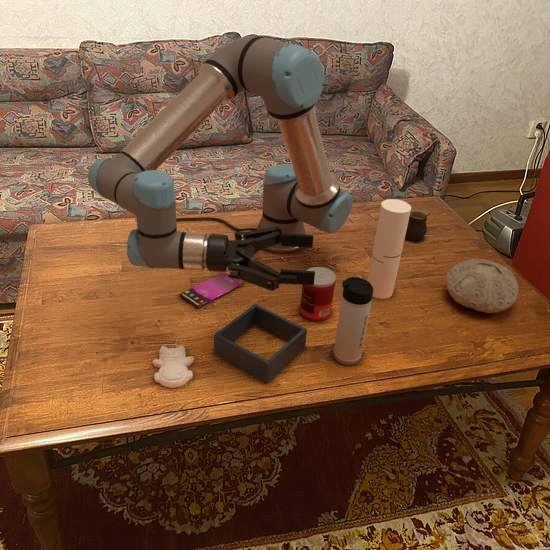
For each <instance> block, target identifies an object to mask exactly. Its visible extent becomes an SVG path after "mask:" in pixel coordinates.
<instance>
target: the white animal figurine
mask: <svg viewBox="0 0 550 550" xmlns="http://www.w3.org/2000/svg"><path fill="white" fill-rule="evenodd" d="M186 352H187V351H186V348H185V346H184V345H183V344H180V345H178V347H167V346H166V345H161V347H160V348H159V355H158V356H159V358H154V359H152V365H153V367H155V368H158V371H157V372H156V371H155V373H154V374H153V379H154V381H155V382H156V383H158V384H160V385H161V386H162V387H165V388H170V389H175V388H180V387H184V385H187V384H188V382H189V381H191V380H192V379H193V377H194V373H193V371H192V370H191V369H189V368H188V367H189V366H191V365H192V364H193V363H194V362H195V357H194V356H191V355H189V356H187V355H186Z"/></svg>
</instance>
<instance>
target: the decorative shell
mask: <svg viewBox="0 0 550 550" xmlns="http://www.w3.org/2000/svg"><path fill="white" fill-rule="evenodd" d="M445 287H446V289H447V291H448V293H449V295H450V296H451V298H452V299H453V300H454V301H455V302H456V303H457V304H460V305H462V306H463V307H466V308H470V309H473V310H475V311H476V312H483V313H485V314H493V313H500V312H502V311H506V310H508V309H510V308H511V307H512V306H513V305H514V304H515V302H516V301H517V298H518V295H519V287H520V286H519V285H518V281H517V277H516V276H515V275H514V274H513V272H512V271H511V270H510V269H509V268H508V267H507V266H503V265H502V264H500V263H497V262H495V261H493V260H488V259H484V258H478V257H475V258H472V259H466V260H463V261H459V262H458V263H457V264H455V265H452V267H451V269H450V270H449V271H448V272H447V274H446V278H445Z"/></svg>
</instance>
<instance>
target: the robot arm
mask: <svg viewBox="0 0 550 550" xmlns="http://www.w3.org/2000/svg"><path fill="white" fill-rule="evenodd" d="M198 70H199V73H198V75H197V76H195V78H193V79H192V81H191V82H189V83H188V84H187V86H185V88H183V90H181V91H180V92H179V93H178V94H177V95H176V96H175V97H174V98H173V99H172V100H171V101H170V102H169V103H168V104H167V105H166V106H165V107H164V108H163V109H162V110H161V111H160V112H159V113H158V114H157V115H156V116H155V117H154V118H153V119H152V120H151V121H150V122H149V123H148V124H146V126H145V127H144V128H143V129H142V130H141V131H140V132H138V133H137V135H135V136H134V138H133V139H132V140H130V141H129V142H128V144H126V145H125V146H124V148H122V149H121V150H120V152H119V153H117V154H116V155H115V156H114V157H113V158H109V157H102V158H99V159H96V160H95V161H93V162H92V164H91V165H90V167H89V168H88V171H87V172H88V173H87V181H88V184H89V186H90V188H91V189H92V190H93V191H94V192H96V193H97V194H98V195H99V196H100V197H102V198H104V199H106V200H108V201H110V202H112V203H114V204H116V205H117V206H119V207H121V208H122V209H124V210H125V211H127V212H129V213H130V214H133V215H134V216H135V218H136V227H137V228H133V229H131V231H129V233H128V236H127V240H126V241H127V242H126V246H127V247H126V248H127V249H126V256H127V260H128V262H129V263H130V264H131V265H132V266H135V267H142V268H149V269H175V270H188V271H189V270H190V271H201V272H203V271H205V270H207V271H209V272H216V273H225V272H227V271H228V272H227V275H228V277H229V278H234V279H235V280H240V281H243V282H245V283H249V284H251V285H254V286H257V287H260V288H262V289H266V290H268V291H270V292H274V291H276V290H277V289H279V288H280V285H302V284H304V285H314V279H315V271H306V270H303V269H288V268H280V271H278V270H277V269H275V268H273V267H270V266H269V265H267V264H265V263H264V262H262V261H259V260H258V259H256V256H255V255H256V254H258V252H260V251H263V250H265V251H268V252H271V253H274V254H275V253H277V254H291V253H295V252H298V251H300V250H302V249H303V248H309V249H313V244H314V234H307V233H306V229H305V224H307V225H309V226H311V227H313V228H316V229H317V230H318V231H320V232H323V233H326V234H333V233H336V232H338V231H339V230H340V229H341V228H342V227H343V226H344V225H345V223H346V222H347V220H348V218H349V216H350V215H351V212H352V209H353V203H354V200H353V197H352V195H351V194H349V193H348V192H347V191H343V190H342V189H341V185H340V182H339V180H338V177H337V176H336V175H335V174H333V173H331V170H330V167H329V162H328V158H327V155H326V154H327V153H326V151H325V146H324V143H323V139H322V134H321V131H320V127H319V123H318V119H317V115H316V111H315V107H316V106H317V103H318V100H319V99H320V98H321V95H322V93H323V89H324V86H323V84H324V83H325V71H324V66H323V63H322V61H321V58H319V55H317V54H316V53H315V52H314V51H313V50H311V49H309V48H306V47H304V46H302V45H300V44H296V43H288V42H285V41H280V40H276V39H273V38H268V37H265V36H261V35H254V34H252V35H245V36H243V37H239V38H236V39H234V40H232V41H230V42H229V43H226V44H225V45H224V46H222V47H221V48H219V49H218V50H217V51H215V52H214V53H213V54H211V55H210V56H209V57H208V58H207V59H206V60H205V61H204V62H203V63H202V64H201V65H200V66H199V69H198ZM244 92H246V93H251V94H253V95H256V96H258V97H260V98H262V101H263V104H264V106H265V109H266V111H267V112H266V113H267V114H268V115H269V116H270V118H272V119H273V120H276V121H277V123H278V126H279V130H280V133H281V136H282V138H283V142H284V145H285V148H286V151H287V155H288V157H289V160H290V163H280V164H275V165H272V166H270V167H268V168H267V169H266V170H265V172H264V177H263V183H262V184H263V187H262V190H263V191H262V215H261V218H260V220H259V222H258V225H257V227H245V228H239V227H236V226H233V225H232V224H230V223H229V222H228V221H226V220H224V219H222V218H218V217H211V216H210V217H209V216H203V217H202V216H201V217H177V204H176V200H177V194H176V192H175V183H174V179H173V177H172V175H171V174H169V173H168V172H165V171H161V170H160V171H159V170H158V169H159V168H160V166H162V165H163V164H164V163H165V162H166V161H167V159H169V158H170V156H172V155H173V153H174V152H176V151H177V150H178V149H179V147H180V146H182V144H184V143H185V142H186V140H188V138H189V137H191V135H192V134H193V133H195V131H196V130H197V129H198V128H199V127H200V126H201V125H202V124H203V123H204V122H205V121H206V120H207V119H208V118H209V117H210V116H211V115H212V114H213V113H214V112H215V111H216V110H217V109H218V108H219V107H220V106H221V105H222V104H223V103H224V102H231V101H232V100H234V99H235V98H236V97H237V96H238V95H239V94H242V93H244ZM202 220H203V221H205V220H207V221H208V220H209V221H217V222H221V223H224V224H225V225H226V226H228V227H229V228H230V229H232V230H234V231H235V232H234V234H233V235H234V236H233V237H234V239H233V240H230V239H229V235H227V234H222V233H210V234H209V235H208V234H207V233H206V232H192V231H191V232H187V231H178V228H177V227H178V225H177V221H202ZM304 223H305V224H304Z"/></svg>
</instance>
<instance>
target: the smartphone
mask: <svg viewBox="0 0 550 550" xmlns="http://www.w3.org/2000/svg"><path fill="white" fill-rule="evenodd" d="M240 286H242V282H241V281H238V279H234V278H229V277H228V273H225V272H221V273H220V274H218V275H216V276H213V277H211V278H209V279H207V280H205V281H202V282H201V283H199V284H196V285H195V286H193V287H191V288H188V289H186V290H184V291H182V292H180V293H179V296H181V297H182V298H183V299H185V300H186V301H188V302H189V303H191V304H192V305H193V306H195V307H197V308H199V307H201V306H204V305H205V304H207V303H209V302H211V301H213V300H216V299H217V298H219V297H221V296H223V295H225V294H227V293H229V292H231V291H233V290H235V289H237V288H239V287H240Z"/></svg>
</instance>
